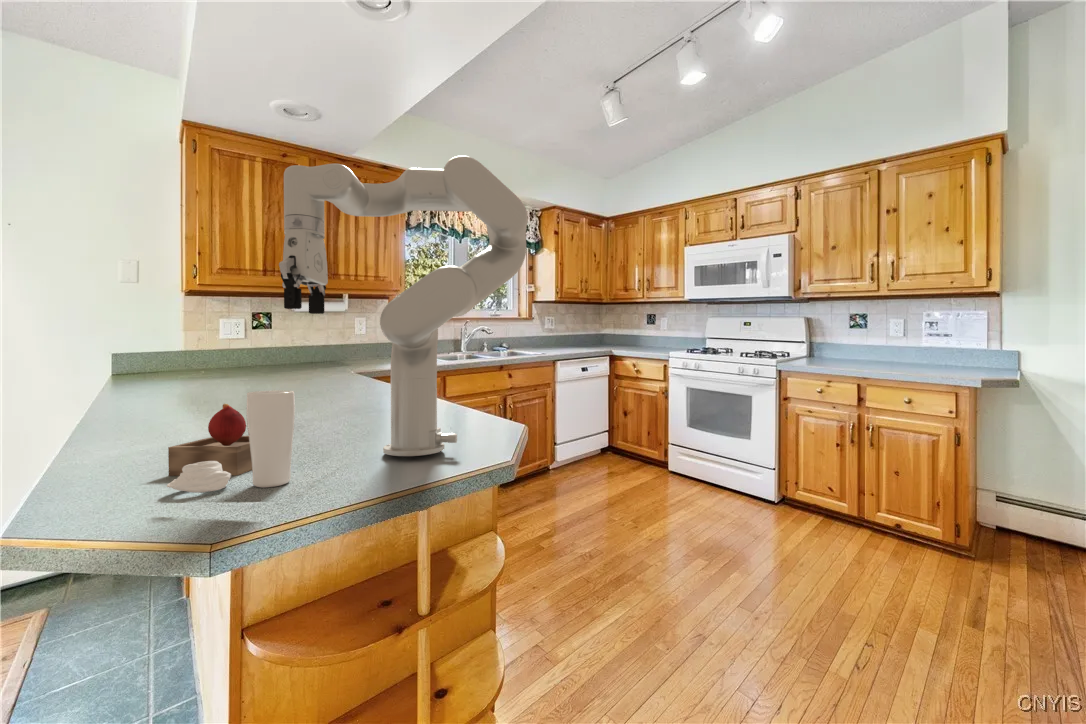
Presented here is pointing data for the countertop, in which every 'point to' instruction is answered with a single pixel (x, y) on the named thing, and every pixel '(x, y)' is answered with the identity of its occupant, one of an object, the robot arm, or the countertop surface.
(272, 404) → the drinking glass
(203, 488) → the whipped cream
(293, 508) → the countertop surface
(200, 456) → the walnut base
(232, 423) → the onion
